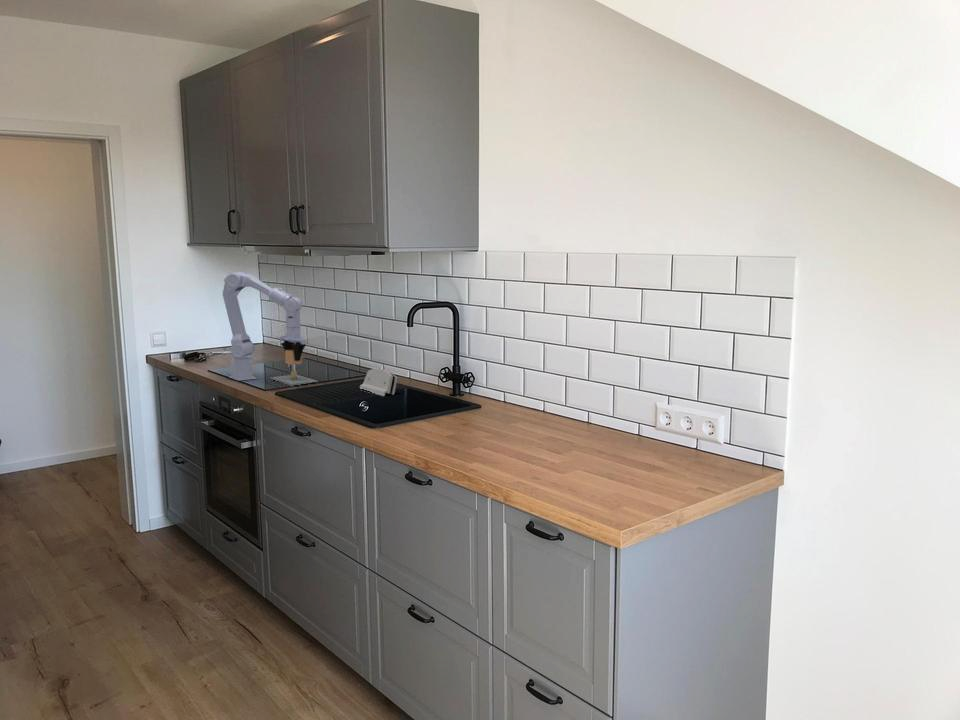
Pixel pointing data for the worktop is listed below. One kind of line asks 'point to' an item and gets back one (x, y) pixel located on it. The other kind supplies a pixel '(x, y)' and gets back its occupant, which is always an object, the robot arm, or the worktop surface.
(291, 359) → the tan wooden cube
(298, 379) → the board
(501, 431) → the worktop surface
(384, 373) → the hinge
